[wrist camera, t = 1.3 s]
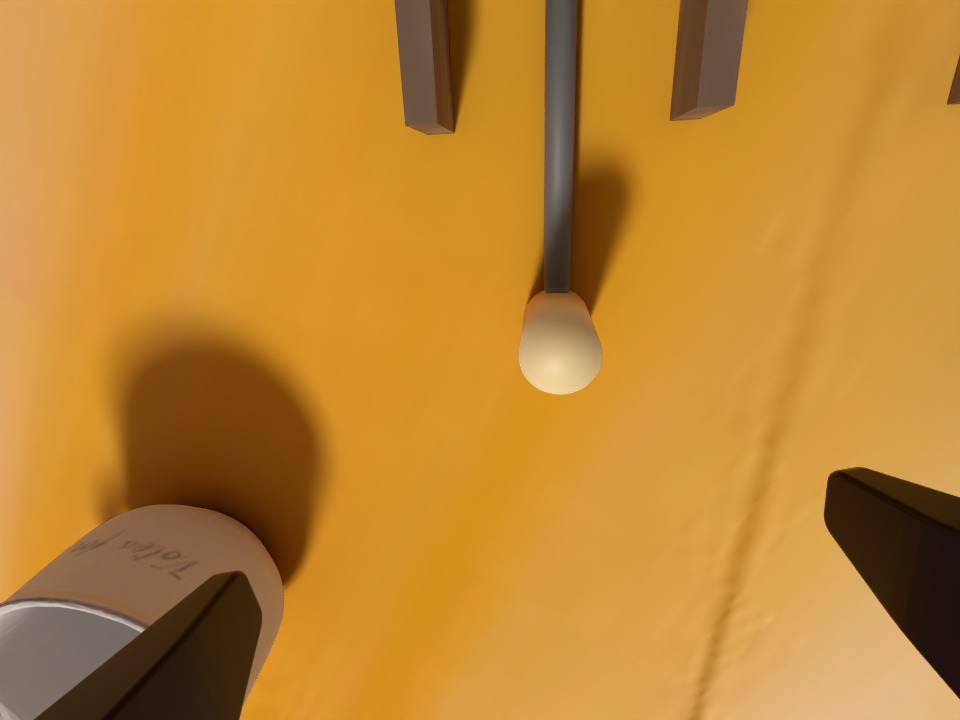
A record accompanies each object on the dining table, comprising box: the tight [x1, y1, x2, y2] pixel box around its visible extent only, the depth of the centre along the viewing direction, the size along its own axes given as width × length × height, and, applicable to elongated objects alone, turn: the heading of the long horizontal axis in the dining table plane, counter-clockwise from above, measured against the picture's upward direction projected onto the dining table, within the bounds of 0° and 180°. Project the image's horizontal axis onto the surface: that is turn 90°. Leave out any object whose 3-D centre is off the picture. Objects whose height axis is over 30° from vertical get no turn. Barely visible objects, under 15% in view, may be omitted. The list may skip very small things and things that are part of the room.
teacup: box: [0, 504, 284, 720], centre depth 23 cm, size 14×11×8 cm
